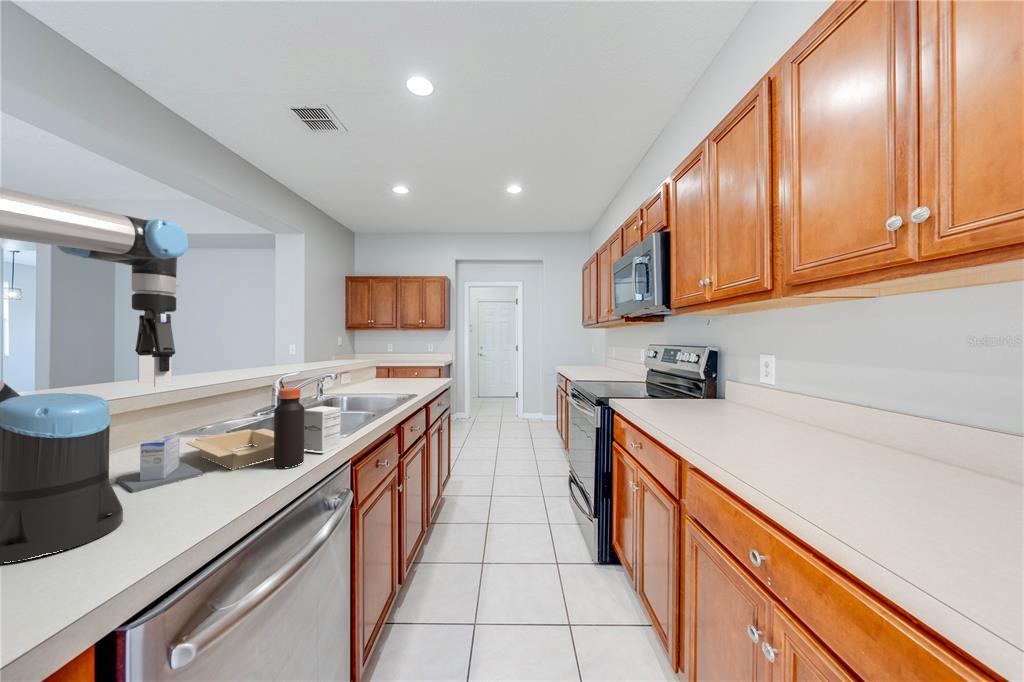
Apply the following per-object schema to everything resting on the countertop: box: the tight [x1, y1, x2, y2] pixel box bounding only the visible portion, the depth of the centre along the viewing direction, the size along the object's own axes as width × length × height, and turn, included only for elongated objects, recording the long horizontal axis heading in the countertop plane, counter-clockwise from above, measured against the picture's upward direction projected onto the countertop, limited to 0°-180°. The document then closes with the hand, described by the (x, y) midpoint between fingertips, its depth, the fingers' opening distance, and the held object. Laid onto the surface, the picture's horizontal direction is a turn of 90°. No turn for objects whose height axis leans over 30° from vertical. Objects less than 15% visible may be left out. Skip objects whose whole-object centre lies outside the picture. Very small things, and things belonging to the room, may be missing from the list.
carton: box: [185, 428, 274, 470], centre depth 102 cm, size 26×19×4 cm
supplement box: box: [304, 405, 342, 451], centre depth 108 cm, size 7×7×13 cm
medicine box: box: [139, 433, 181, 481], centre depth 85 cm, size 8×4×9 cm, turn 25°
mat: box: [116, 462, 203, 493], centre depth 85 cm, size 12×12×1 cm
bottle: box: [273, 387, 305, 469], centre depth 95 cm, size 7×7×20 cm
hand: (154, 383), depth 85 cm, fingers open, 13 cm apart
